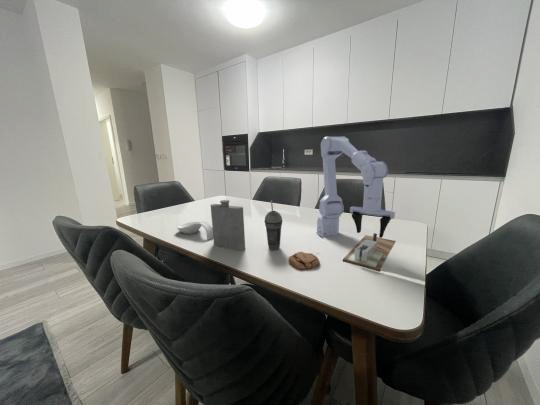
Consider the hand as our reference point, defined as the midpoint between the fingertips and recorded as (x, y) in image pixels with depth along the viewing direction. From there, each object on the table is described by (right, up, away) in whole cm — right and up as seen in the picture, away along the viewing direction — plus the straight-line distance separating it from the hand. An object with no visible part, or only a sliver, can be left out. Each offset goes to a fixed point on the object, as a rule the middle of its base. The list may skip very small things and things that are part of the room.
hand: (369, 234), depth 80 cm
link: (-2, -8, -1) cm, 8 cm away
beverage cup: (-34, -7, +11) cm, 37 cm away
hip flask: (-53, -7, +14) cm, 56 cm away
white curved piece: (-72, -4, +30) cm, 78 cm away
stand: (+3, -7, +5) cm, 10 cm away
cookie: (-24, -10, -2) cm, 26 cm away
